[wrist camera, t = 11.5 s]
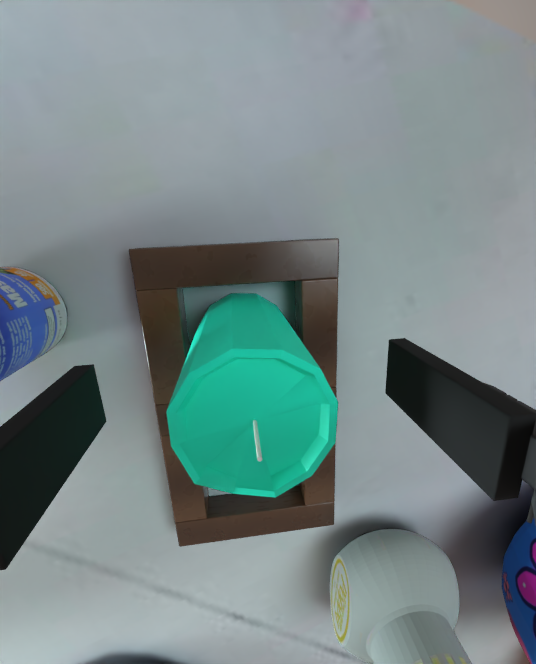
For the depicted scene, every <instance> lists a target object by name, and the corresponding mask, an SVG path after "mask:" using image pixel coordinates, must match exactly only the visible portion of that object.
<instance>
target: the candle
mask: <svg viewBox="0 0 536 664" xmlns="http://www.w3.org/2000/svg"><path fill="white" fill-rule="evenodd" d="M337 411H338V401H337V399H336V397H335V395H334V393H333V391H332V390H331V388H330V386H329V384H328V382H327V380H326V378H325V376H324V374H323V372H322V370H321V369H320V367H319V366H318V364H317V363H316V361H315V360H314V359H313V357H312V356H311V354H310V353H309V351H308V350H307V349H306V347H305V346H304V344H303V343H302V341H301V340H300V338H299V337H298V336H297V334H296V333H295V331H294V330H293V328H292V327H291V326H290V324H289V323H288V321H287V320H286V318H285V317H284V316H283V314H282V313H281V311H280V310H279V308H278V307H277V306H276V305H275V304H273V303H271V302H270V301H268V300H266V299H265V298H263V297H261V296H259V295H258V294H254V293H231V294H229V295H227V296H226V297H224V298H222V299H220V300H219V301H217V302H215V303H213V304H211V305H210V306H209V308H208V310H207V311H206V313H205V315H204V317H203V318H202V320H201V322H200V324H199V325H198V328H197V330H196V333H195V336H194V338H193V341H192V344H191V346H190V349H189V352H188V355H187V357H186V360H185V363H184V365H183V368H182V371H181V373H180V376H179V379H178V381H177V384H176V387H175V389H174V392H173V395H172V397H171V400H170V403H169V405H168V408H167V411H166V413H167V420H168V428H169V435H170V442H171V447H172V449H173V450H174V452H175V453H176V455H177V457H178V458H179V460H180V461H181V463H182V465H183V466H184V468H185V470H186V471H187V473H188V474H189V476H190V478H191V479H192V481H193V483H194V484H197V485H201V486H205V487H209V488H213V489H216V490H220V491H224V492H228V493H232V494H242V495H253V496H264V497H274V498H276V497H277V496H279V495H281V494H282V493H284V492H286V491H287V490H289V489H291V488H293V487H294V486H296V485H298V484H299V483H301V482H303V481H304V480H306V479H308V478H309V477H311V476H312V475H313V474H314V472H315V471H316V470H317V468H318V467H319V465H320V464H321V462H322V461H323V460H324V458H325V457H326V455H327V454H328V453H329V451H330V450H331V448H332V447H333V445H334V444H335V441H336V426H337Z"/></svg>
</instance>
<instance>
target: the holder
mask: <svg viewBox="0 0 536 664" xmlns="http://www.w3.org/2000/svg"><path fill="white" fill-rule="evenodd" d="M129 254H130V260H131V266H132V272H133V278H134V284H135V289H136V290H137V291H136V296H137V302H138V307H139V313H140V319H141V325H142V331H143V337H144V343H145V349H146V355H147V360H148V366H149V372H150V378H151V384H152V390H153V396H154V402H155V408H156V413H157V419H158V425H159V431H160V436H161V442H162V448H163V454H164V460H165V466H166V472H167V478H168V484H169V489H170V495H171V501H172V507H173V513H174V519H175V524H176V530H177V536H178V542H179V546H187V545H195V544H202V543H209V542H216V541H223V540H230V539H237V538H244V537H251V536H258V535H265V534H272V533H279V532H286V531H293V530H300V529H307V528H314V527H321V526H328V525H334V493H335V444H334V445H333V447H332V448H331V450H330V451H329V453H328V454H327V455H326V457H325V458H324V460H323V461H322V462H321V464H320V465H319V467H318V468H317V470H316V471H315V472H314V474H313V475H312V476H311V477H309V478H308V479H306V480H304V481H303V482H301V483H299V486H294V487H293V488H291V489H289V490H287V491H286V492H284V493H282V494H281V495H279V496H277V497H276V498H274V497H264V496H253V495H242V494H229V495H221V496H214V497H209V495H208V487H205V486H201V485H197V484H194V483H193V481H192V479H191V478H190V476H189V474H188V473H187V471H186V470H185V468H184V466H183V465H182V463H181V461H180V460H179V458H178V457H177V455H176V453H175V452H174V450H173V449H172V447H171V442H170V435H169V428H168V420H167V413H166V411H167V408H168V405H169V403H170V400H171V397H172V395H173V392H174V389H175V387H176V384H177V381H178V379H179V376H180V373H181V371H182V368H183V365H184V363H185V360H186V357H187V355H188V352H189V349H190V345H189V337H188V329H187V321H186V313H185V305H184V297H183V289H182V288H186V287H202V286H217V285H233V284H249V283H265V282H280V281H295V308H296V334H297V336H298V337H299V338H300V340H301V341H302V343H303V344H304V346H305V347H306V349H307V350H308V351H309V353H310V354H311V356H312V357H313V359H314V360H315V361H316V363H317V364H318V366H319V367H320V369H321V370H322V372H323V374H324V376H325V378H326V380H327V382H328V384H329V386H330V388H331V390H332V391H333V393H334V395H335V397H336V370H337V312H338V262H339V239H338V238H332V239H309V240H289V241H269V242H250V243H230V244H210V245H190V246H171V247H151V248H135V249H129Z"/></svg>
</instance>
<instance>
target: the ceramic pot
mask: <svg viewBox="0 0 536 664" xmlns="http://www.w3.org/2000/svg"><path fill="white" fill-rule="evenodd" d="M526 521H527V520H526ZM502 590H503V595H504V599H505V603H506V607H507V610H508V614H509V617H510V620H511V623H512V626H513V629H514V631H515V634H516V636H517V638H518V640H519V642H520V644H521V646H522V648H523V650H524V652H525V654H526V656H527V658H528V660H529V662H530V664H536V526H535V519H533V520H532V523H528V522H525V523H524V524H523V525H522V526H521V527H520V528H519V530H518V531H517V532H516V533H515V535H514V537H513V539H512V541H511V543H510V545H509V547H508V549H507V551H506V553H505V555H504V560H503V570H502Z"/></svg>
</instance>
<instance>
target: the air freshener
mask: <svg viewBox="0 0 536 664" xmlns="http://www.w3.org/2000/svg"><path fill="white" fill-rule="evenodd" d="M330 605H331V615H332V621H333V626H334V631H335V634H336V637H337V640H338V642H339V644H340V645H341V646H342V647H343V648H344V649H345V650H346V651H348V652H349V653H350V654H352V655H353V656H355V657H356V658H358V659H360V660H362V661H365V662H367V663H370V664H472V663H471V661H470V659H469V658H468V656H467V654H466V652H465V650H464V649H463V647H462V645H461V643H460V642H459V640H458V638H457V636H456V634H455V633H454V631H453V630H454V628H455V625H456V623H457V619H458V615H459V589H458V583H457V578H456V574H455V571H454V569H453V566H452V564H451V562H450V560H449V558H448V557H447V555H446V554H445V553H444V552H443V551H442V550H441V549H440V548H439V547H438V546H437V545H436V544H435V543H433V542H432V541H430V540H429V539H427V538H426V537H424V536H421V535H419V534H417V533H414V532H411V531H406V530H401V529H382V530H377V531H373V532H370V533H367V534H364V535H362V536H360V537H358V538H356V539H354V540H353V541H351V542H350V543H349V544H347V545H346V546H345V547H344V548H343V549H342V550H341V551H340V552H339V553H338V554H337V555H336V557H335V558H334V560H333V564H332V568H331V576H330Z"/></svg>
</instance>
